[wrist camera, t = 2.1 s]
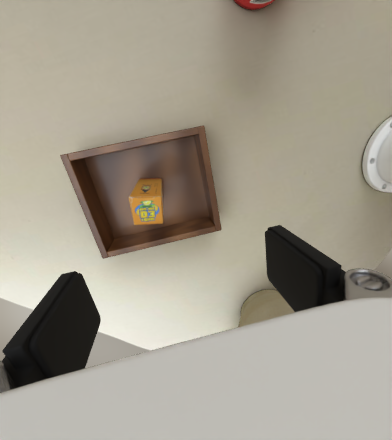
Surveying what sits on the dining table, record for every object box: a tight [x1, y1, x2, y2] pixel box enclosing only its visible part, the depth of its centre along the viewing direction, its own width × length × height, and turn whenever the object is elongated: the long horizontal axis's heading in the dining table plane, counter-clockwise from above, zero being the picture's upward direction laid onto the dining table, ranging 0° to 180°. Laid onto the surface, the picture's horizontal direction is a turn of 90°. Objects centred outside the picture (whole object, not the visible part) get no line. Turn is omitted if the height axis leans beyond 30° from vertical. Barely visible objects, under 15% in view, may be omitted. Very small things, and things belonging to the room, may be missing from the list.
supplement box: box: [129, 178, 163, 225], centre depth 26 cm, size 3×3×10 cm
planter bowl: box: [238, 289, 294, 327], centre depth 36 cm, size 16×16×11 cm
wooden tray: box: [60, 126, 221, 258], centre depth 28 cm, size 17×14×5 cm
